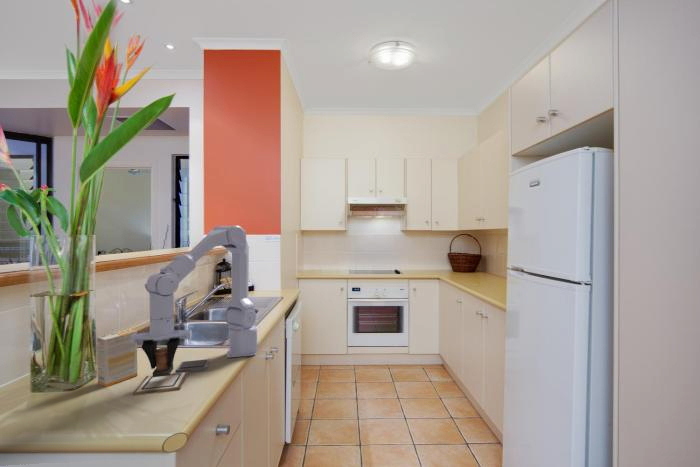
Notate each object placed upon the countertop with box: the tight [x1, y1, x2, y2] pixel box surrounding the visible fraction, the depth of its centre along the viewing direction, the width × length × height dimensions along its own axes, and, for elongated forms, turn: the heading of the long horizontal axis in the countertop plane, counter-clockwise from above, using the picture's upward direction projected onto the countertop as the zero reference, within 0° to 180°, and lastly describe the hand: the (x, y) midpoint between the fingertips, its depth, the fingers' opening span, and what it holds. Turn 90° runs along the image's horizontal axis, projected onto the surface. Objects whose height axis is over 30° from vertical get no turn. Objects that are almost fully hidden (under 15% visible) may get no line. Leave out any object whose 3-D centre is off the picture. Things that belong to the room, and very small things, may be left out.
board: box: [131, 372, 190, 396], centre depth 88 cm, size 11×10×1 cm
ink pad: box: [175, 358, 210, 373], centre depth 98 cm, size 8×6×1 cm
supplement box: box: [96, 328, 138, 388], centre depth 91 cm, size 8×5×13 cm, turn 150°
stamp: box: [152, 346, 174, 377], centre depth 88 cm, size 4×4×6 cm
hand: (162, 366), depth 88 cm, fingers closed on stamp, 3 cm apart
